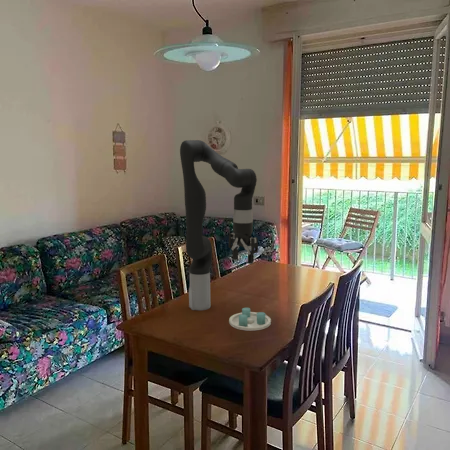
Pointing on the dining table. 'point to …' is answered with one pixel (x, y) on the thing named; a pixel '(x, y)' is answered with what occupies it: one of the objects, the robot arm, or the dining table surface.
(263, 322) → the bead
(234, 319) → the groove dish
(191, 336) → the dining table surface
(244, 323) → the bead
